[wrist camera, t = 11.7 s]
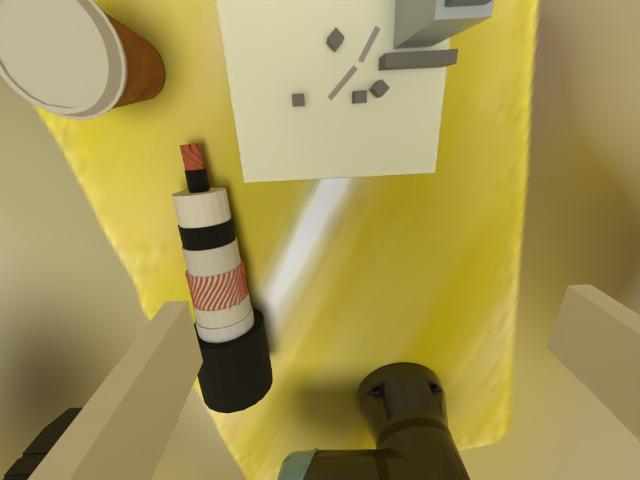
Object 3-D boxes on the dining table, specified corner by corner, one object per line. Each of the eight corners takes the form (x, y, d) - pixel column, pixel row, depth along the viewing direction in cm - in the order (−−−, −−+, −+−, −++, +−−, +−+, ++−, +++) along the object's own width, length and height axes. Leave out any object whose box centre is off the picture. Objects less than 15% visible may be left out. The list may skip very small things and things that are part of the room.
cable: (226, 142, 40) (245, 139, 32) (261, 352, 51) (282, 392, 42) (141, 148, 36) (137, 147, 28) (198, 376, 47) (208, 426, 38)
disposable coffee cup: (157, 4, 30) (70, -52, 20) (193, 104, 34) (137, 104, 23) (71, 28, 31) (-60, -13, 20) (116, 124, 35) (27, 133, 24)
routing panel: (433, 171, 38) (446, 179, 34) (245, 181, 38) (237, 189, 34) (456, -36, 30) (476, -56, 26) (214, -23, 30) (199, -41, 26)
